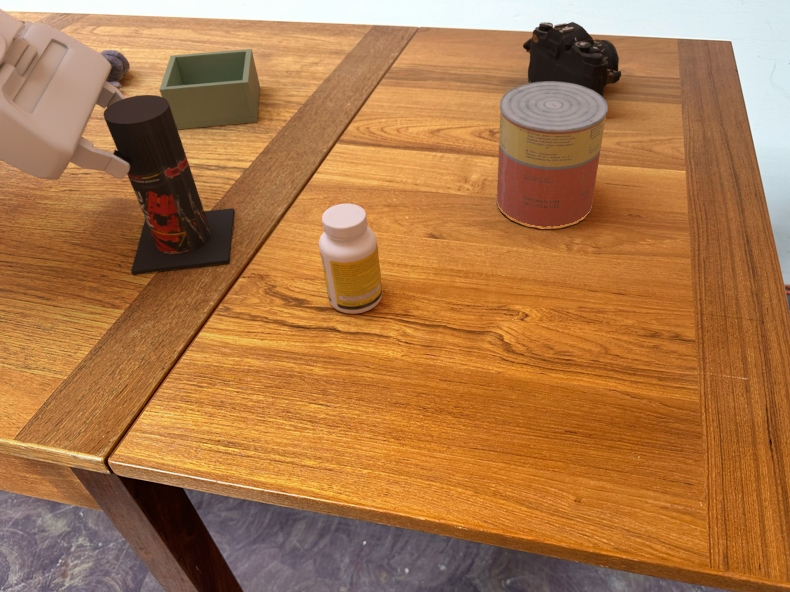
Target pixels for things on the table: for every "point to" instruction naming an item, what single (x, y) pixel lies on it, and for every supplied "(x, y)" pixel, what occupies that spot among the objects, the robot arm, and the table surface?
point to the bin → (212, 88)
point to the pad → (207, 255)
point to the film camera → (571, 57)
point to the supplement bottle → (350, 259)
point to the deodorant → (159, 172)
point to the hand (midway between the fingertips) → (135, 146)
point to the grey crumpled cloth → (116, 67)
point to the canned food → (549, 151)
